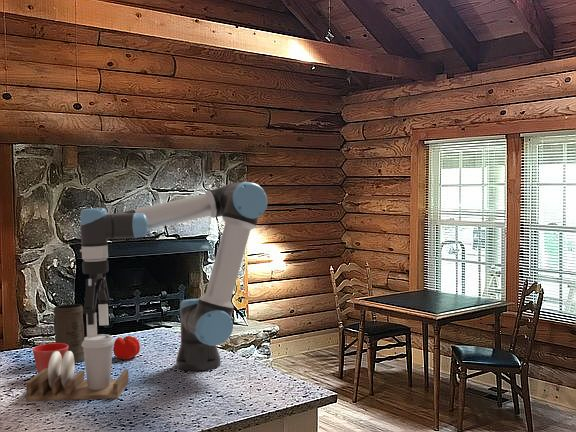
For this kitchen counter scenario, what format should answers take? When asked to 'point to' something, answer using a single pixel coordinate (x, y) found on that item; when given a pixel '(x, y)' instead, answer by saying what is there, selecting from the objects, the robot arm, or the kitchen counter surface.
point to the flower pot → (47, 353)
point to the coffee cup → (98, 360)
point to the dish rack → (69, 382)
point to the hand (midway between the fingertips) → (98, 330)
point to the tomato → (126, 347)
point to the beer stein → (70, 328)
